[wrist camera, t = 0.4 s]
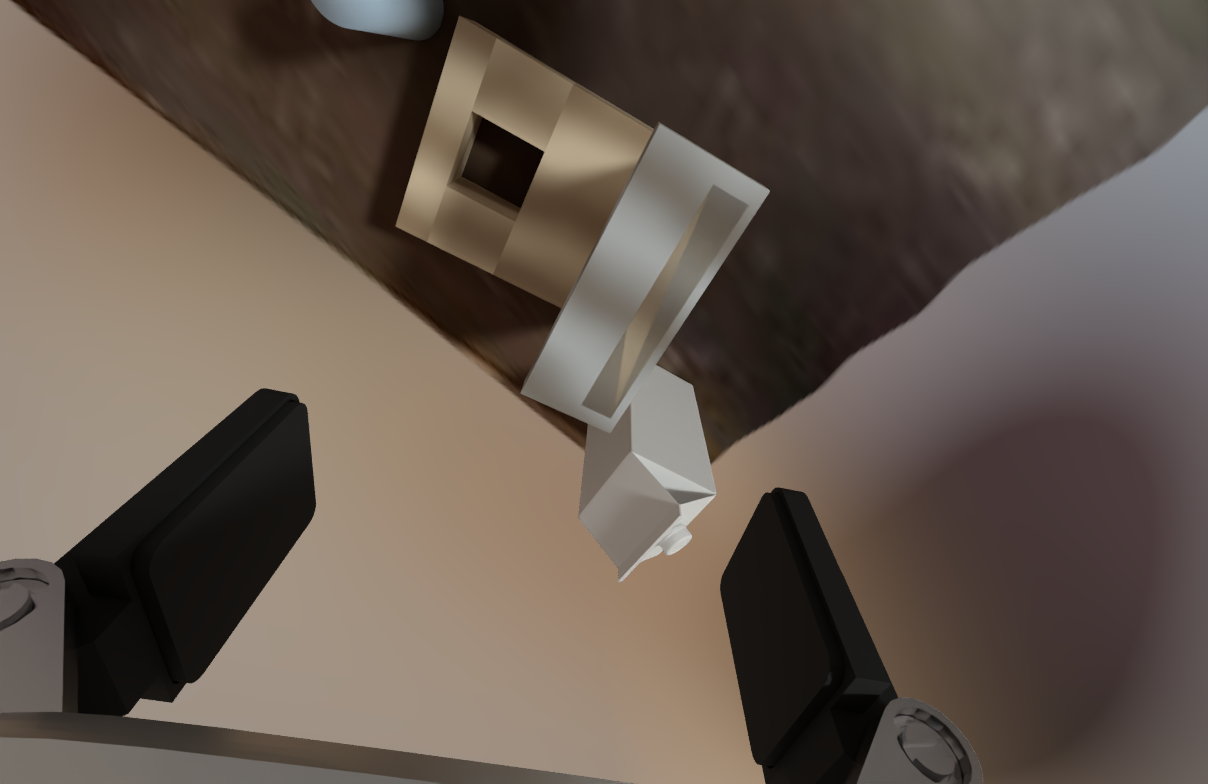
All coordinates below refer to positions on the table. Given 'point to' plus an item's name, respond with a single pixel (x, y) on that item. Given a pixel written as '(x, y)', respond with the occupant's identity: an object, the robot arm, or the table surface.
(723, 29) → the table surface
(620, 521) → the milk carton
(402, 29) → the peg
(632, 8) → the table surface
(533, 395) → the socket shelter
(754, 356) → the table surface
